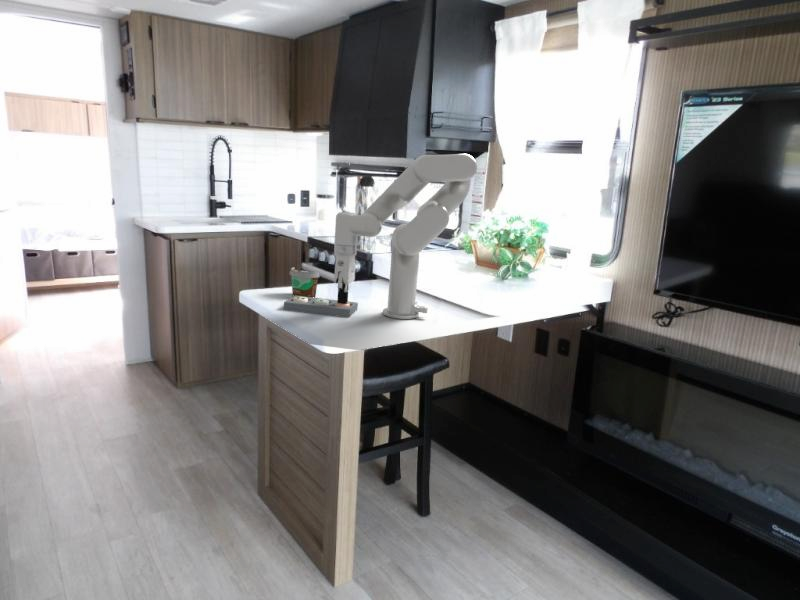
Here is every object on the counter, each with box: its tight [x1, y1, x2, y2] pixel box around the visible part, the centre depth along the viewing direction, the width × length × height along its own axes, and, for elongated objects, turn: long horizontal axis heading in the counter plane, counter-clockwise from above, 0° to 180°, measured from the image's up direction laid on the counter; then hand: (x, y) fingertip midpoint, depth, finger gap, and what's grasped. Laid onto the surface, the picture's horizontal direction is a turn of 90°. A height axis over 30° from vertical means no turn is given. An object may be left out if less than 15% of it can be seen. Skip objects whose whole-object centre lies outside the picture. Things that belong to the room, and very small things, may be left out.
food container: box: [289, 266, 320, 298], centre depth 210 cm, size 12×6×10 cm, turn 62°
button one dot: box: [314, 298, 329, 305], centre depth 194 cm, size 5×5×3 cm
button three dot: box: [335, 301, 350, 308], centre depth 193 cm, size 5×5×3 cm
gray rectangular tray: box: [283, 295, 359, 318], centre depth 194 cm, size 23×11×3 cm, turn 80°
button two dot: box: [293, 297, 308, 303], centre depth 195 cm, size 5×5×3 cm
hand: (342, 302), depth 193 cm, fingers closed
